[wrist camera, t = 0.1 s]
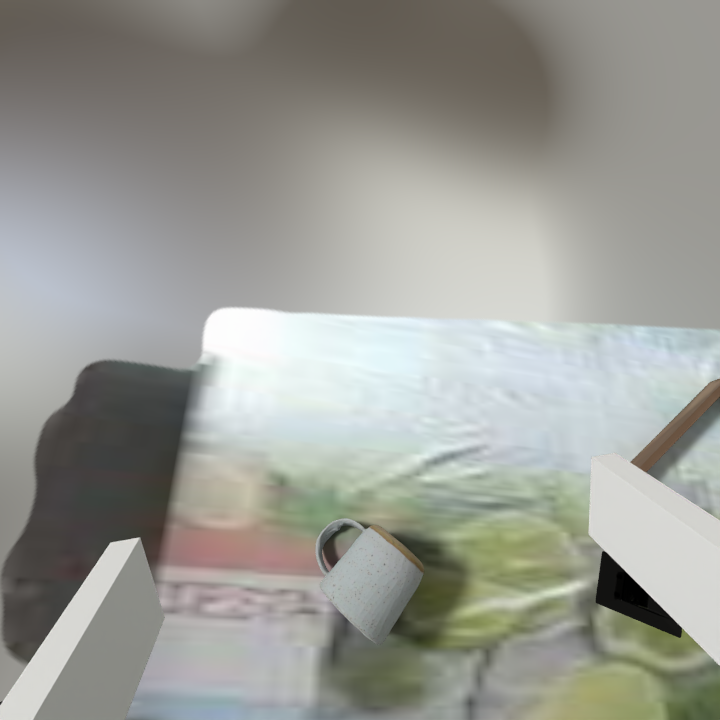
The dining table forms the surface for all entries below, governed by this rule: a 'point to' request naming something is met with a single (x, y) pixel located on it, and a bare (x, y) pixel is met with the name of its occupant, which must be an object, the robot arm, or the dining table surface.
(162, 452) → the dining table surface
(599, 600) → the black wall mount bracket
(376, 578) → the ceramic mug
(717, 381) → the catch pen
